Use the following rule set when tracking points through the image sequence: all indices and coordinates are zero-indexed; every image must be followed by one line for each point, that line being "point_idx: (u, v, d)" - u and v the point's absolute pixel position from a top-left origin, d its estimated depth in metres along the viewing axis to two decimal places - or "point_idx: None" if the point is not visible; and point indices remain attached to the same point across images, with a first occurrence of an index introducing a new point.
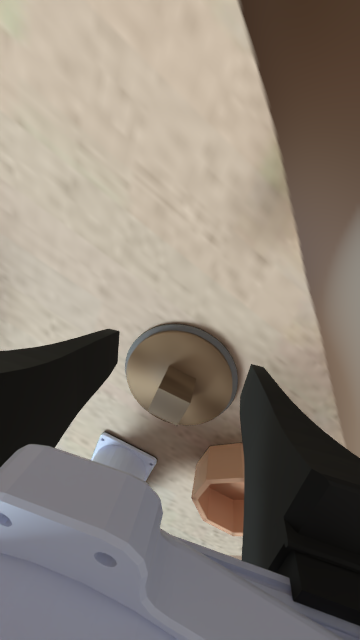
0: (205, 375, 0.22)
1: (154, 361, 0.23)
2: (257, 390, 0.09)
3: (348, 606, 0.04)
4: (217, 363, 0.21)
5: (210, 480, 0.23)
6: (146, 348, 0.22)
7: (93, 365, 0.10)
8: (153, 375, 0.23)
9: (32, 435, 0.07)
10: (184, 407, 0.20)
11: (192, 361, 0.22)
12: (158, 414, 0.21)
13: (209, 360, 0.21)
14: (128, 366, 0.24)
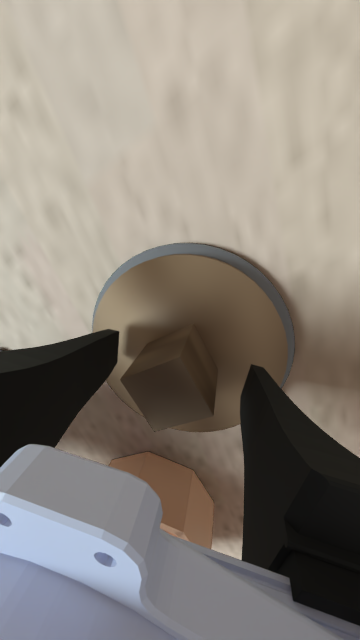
0: (236, 373, 0.13)
1: (174, 301, 0.12)
2: (257, 390, 0.09)
3: (348, 606, 0.04)
4: (271, 369, 0.12)
5: None
6: (179, 270, 0.11)
7: (93, 365, 0.10)
8: (153, 321, 0.12)
9: (32, 435, 0.07)
10: (196, 414, 0.10)
11: (237, 342, 0.12)
12: (136, 397, 0.10)
13: (264, 357, 0.12)
14: (121, 279, 0.12)
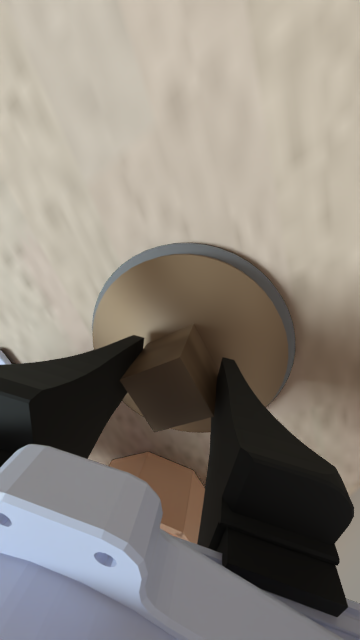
0: None
1: (175, 301, 0.12)
2: (223, 381, 0.10)
3: (270, 578, 0.04)
4: (272, 369, 0.12)
5: None
6: (179, 270, 0.11)
7: (122, 373, 0.10)
8: (153, 321, 0.12)
9: (71, 448, 0.07)
10: (196, 415, 0.10)
11: (237, 342, 0.12)
12: (136, 397, 0.10)
13: (265, 357, 0.12)
14: (121, 279, 0.12)
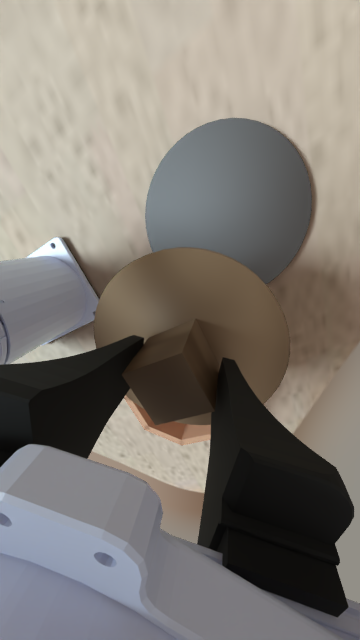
0: None
1: (176, 295, 0.12)
2: (223, 381, 0.10)
3: (271, 578, 0.04)
4: (273, 364, 0.12)
5: None
6: (182, 264, 0.11)
7: (122, 372, 0.10)
8: (155, 315, 0.12)
9: (71, 448, 0.07)
10: (197, 410, 0.10)
11: (239, 337, 0.12)
12: (138, 391, 0.10)
13: (266, 353, 0.12)
14: (122, 273, 0.12)
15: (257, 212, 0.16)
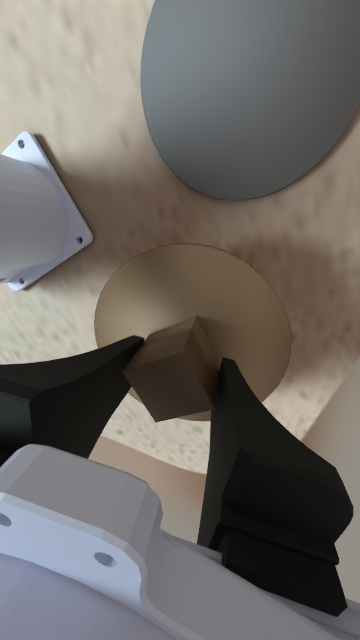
0: (238, 365, 0.13)
1: (178, 292, 0.12)
2: (223, 381, 0.10)
3: (270, 577, 0.04)
4: (274, 362, 0.12)
5: None
6: (183, 261, 0.11)
7: (122, 373, 0.10)
8: (155, 312, 0.12)
9: (71, 448, 0.07)
10: (197, 407, 0.10)
11: (240, 335, 0.12)
12: (138, 389, 0.10)
13: (267, 351, 0.12)
14: (123, 269, 0.12)
15: (299, 53, 0.11)
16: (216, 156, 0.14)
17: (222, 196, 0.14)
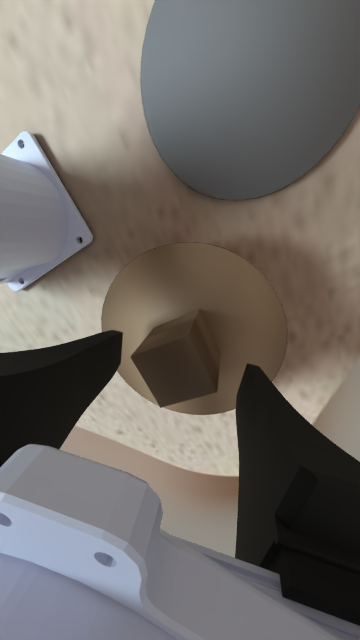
0: (238, 357, 0.13)
1: (182, 287, 0.12)
2: (252, 389, 0.09)
3: (336, 602, 0.04)
4: (271, 354, 0.13)
5: None
6: (187, 257, 0.12)
7: (97, 366, 0.10)
8: (160, 306, 0.13)
9: (38, 437, 0.07)
10: (201, 391, 0.10)
11: (239, 327, 0.13)
12: (145, 373, 0.11)
13: (265, 342, 0.13)
14: (131, 265, 0.13)
15: (299, 53, 0.11)
16: (216, 156, 0.14)
17: (221, 196, 0.14)
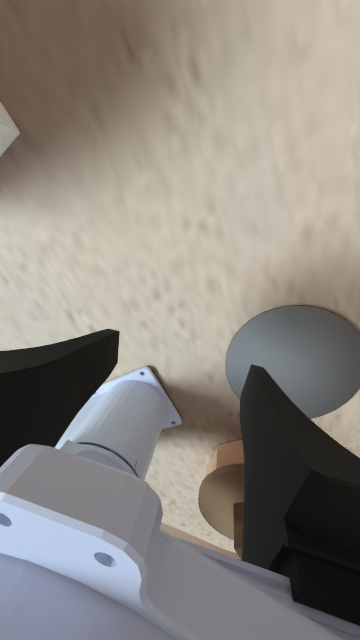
0: None
1: None
2: (257, 390, 0.09)
3: (348, 606, 0.04)
4: None
5: None
6: None
7: (93, 364, 0.10)
8: (239, 495, 0.22)
9: (32, 435, 0.07)
10: None
11: None
12: (241, 555, 0.20)
13: None
14: (224, 475, 0.22)
15: (321, 366, 0.20)
16: None
17: None
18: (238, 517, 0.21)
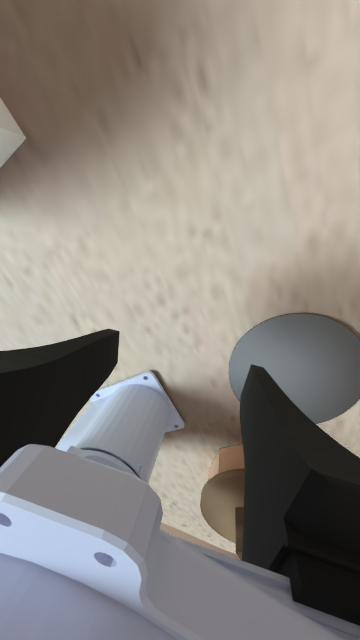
0: None
1: None
2: (257, 390, 0.09)
3: (348, 606, 0.04)
4: None
5: None
6: None
7: (93, 365, 0.10)
8: (241, 499, 0.22)
9: (32, 435, 0.07)
10: None
11: None
12: None
13: None
14: (226, 480, 0.22)
15: (324, 374, 0.21)
16: None
17: None
18: (240, 521, 0.22)
